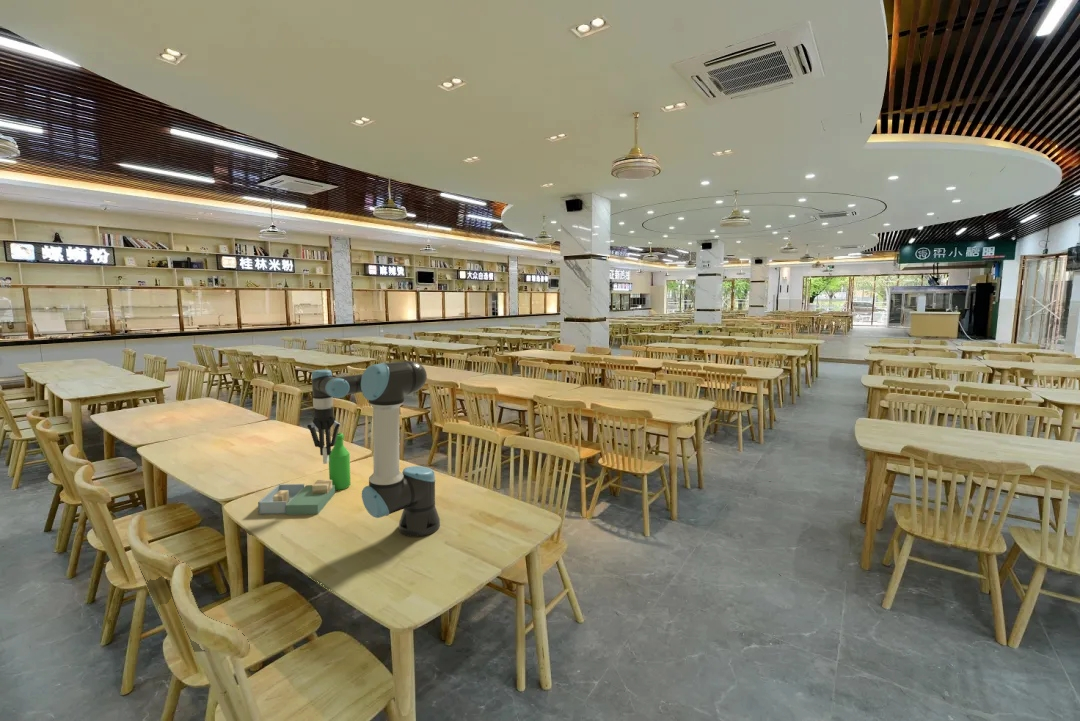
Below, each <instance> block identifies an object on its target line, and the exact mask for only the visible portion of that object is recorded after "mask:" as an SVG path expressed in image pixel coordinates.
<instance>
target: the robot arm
mask: <svg viewBox="0 0 1080 721" xmlns="http://www.w3.org/2000/svg"><path fill="white" fill-rule="evenodd" d="M427 378H428V376H427V371H426V369H425V367H424V366H423V365H421V363H419V362H417V361H414V360H404V361H394V362H393V361H392V362H379V363H378V364H377V363H375V364H371V365H369V366H367V368H365V369H364V370H363V373H361V374H354V375H352V374H351V375H343V376H342V375H341V376H333V372H332V370H331V369H316V370H313V371H312V373H311V381H310V382H311V388H312V407H313V420H312V422H311V423H308V424H307V425H306V426H307V428H308V430H309V431H310V432H309V433H310V435H311V438H312V441H313V444H314V447H316V448H319V451H320V452H319V454H320V456H322V464H324V465H325V464H329V455H330V454H331V450H332V447H334V445H335V443H336V439H337V434H338V433H339V428H340V427H341V425H342V423H341V422H338V421H336V418H335V415H334V414H335V413H334V412H335V411H334V407H333V406H334V399H335V398H336V399H337V398H338V399H339V398H340V399H341V398H343V397H346V396H347V395H348V396H349V395H352V394H353V395H354V394H360V393H361V394H362V395H363V398H365V399H366V400H367V401H368V404H369V405H370V406H371V407H372V408H373V409H372V411H373V412H372V414H373V415H372V416H373V417H372V418H373V421H372V423H373V424H372V426H373V427H372V429H373V432H372V433H373V434H372V435H373V438H372V439H373V441H372V442H373V455H372V456H373V457H372V458H373V460H372V461H373V473H372V474H371V475H370V476H369V477H368V485H365V487H363V489H362V491H361V499H362V504H363V505H364V508H365V509H366V511H367V512H368V514H369V515H370V516H371V517H373V518H376V519H379V518H383V517H387V516H389V515H391V514H394V513H396V512H399V511H401V510H402V513H401V516H400V519H399V524H398V530H399V532H400V533H401V534H402V535H403V536H407V537H412V538H414V537H415V538H416V537H418V538H419V537H425V536H428V535H431V534H433V533H435V532H436V531H438V530H439V529H440V526H441V519H440V516H439V513H438V510H437V508H436V475H435V471H434V470H433V469H432V468H430V467H426V466H421V465H419V466H417V465H414V466H412V465H411V466H407V467H405V468H403V470H402V472H401V471H400V411H401V410H400V407H401V406H402V405H403V404H404V403H405V396H406V395H410V394H413V393H417V392H418V391H420V390H421V389H422V388H423V387H424V386H425V384H426V382H427ZM332 427H334V428H333V433H332V436H331V428H332ZM316 428H317V429H318V430H317V429H316ZM317 432H318V433H317ZM331 437H332V438H331Z"/></svg>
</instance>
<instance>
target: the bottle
mask: <svg viewBox="0 0 1080 721" xmlns="http://www.w3.org/2000/svg"><path fill="white" fill-rule="evenodd" d="M344 438H345V436H344V433H340V432H338V434H337V439H336V443H335V445H334V446H332V447H333V448H331V454H330V455H329V462H328V474H329V477H328V480H332V485H335V491H341V490H345V489H347V488H349V487H350V486H351V465H350V464H351V462H350V460H351V459H350V457H351V456H350V451H349V450H348V449H347V448H346V447H345V445H344Z"/></svg>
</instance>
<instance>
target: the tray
mask: <svg viewBox="0 0 1080 721" xmlns="http://www.w3.org/2000/svg"><path fill="white" fill-rule="evenodd" d="M304 487H305V484H304V483H296V484H295V483H291V484H290V483H289V484H288V483H287V484H284V483H283V484H278V485H277V486H275V487H274V488H273V489H272V490H271V491H270V492H268V493H267V494H266V495H264V496H263V498H261V499H260V500H259V501H258V502H257V505H258V506H257V507H258V509H257V510H258V515H284V514H286V515H287V513H286V505H287V504H288V503H289V502H290V501H291V500H292V499H293V498H294V497H295V496H296V495H297V494H298V493H299V492H300V491H301V490H302V489H303V488H304ZM280 490H289V502H288V503H287V504H286V501H280V502H273V496H274V495H275V494H276V493H277V492H278V491H280Z"/></svg>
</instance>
